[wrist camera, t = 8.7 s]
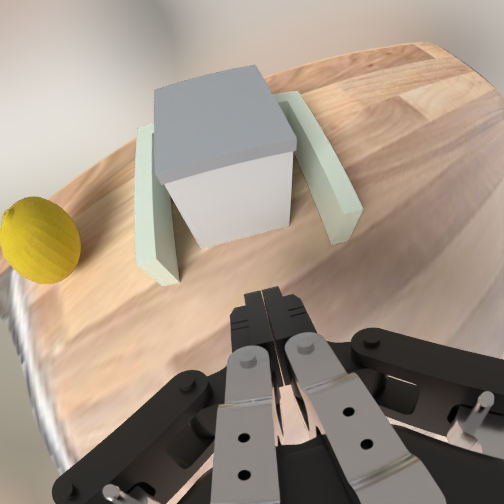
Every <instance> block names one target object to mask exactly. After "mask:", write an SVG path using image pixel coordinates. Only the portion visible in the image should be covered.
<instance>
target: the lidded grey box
mask: <svg viewBox="0 0 504 504" xmlns="http://www.w3.org/2000/svg"><path fill="white" fill-rule="evenodd" d="M296 145H297V138H296V136H295V134H294V132H293V130H292V128H291V126H290V124H289V122H288V121H287V119H286V117H285V115H284V113H283V111H282V110H281V108H280V106H279V104H278V102H277V101H276V99H275V97H274V95H273V94H272V92H271V90H270V89H269V87H268V85H267V83H266V82H265V80H264V78H263V77H262V75H261V73H260V72H259V70H258V69H257V67H256V65H251V66H245V67H240V68H235V69H230V70H225V71H221V72H216V73H213V74H208V75H204V76H200V77H196V78H192V79H189V80H185V81H182V82H178V83H175V84H171V85H168V86H166V87H162V88H159V89H156V90H155V91H154V156H155V175H156V176H157V178H158V180H159V182H160V184H161V185H163V184H164V185H165V187H166V189H167V190H168V192H169V194H170V196H171V197H172V199H173V201H174V203H175V205H176V206H177V208H178V210H179V212H180V213H181V215H182V217H183V219H184V220H185V222H186V224H187V226H188V227H189V229H190V231H191V233H192V234H193V236H194V238H195V239H196V241H197V243H198V245H199V246H200V248H201V249H203V248H207V247H211V246H215V245H219V244H222V243H226V242H230V241H234V240H238V239H241V238H245V237H249V236H253V235H257V234H261V233H265V232H269V231H273V230H276V229H280V228H284V227H288V226H289V222H290V206H291V188H292V169H293V151H296Z"/></svg>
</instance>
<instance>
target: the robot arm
mask: <svg viewBox="0 0 504 504" xmlns="http://www.w3.org/2000/svg"><path fill="white" fill-rule="evenodd" d="M262 293H263V298H264V302H265V306H264V302H263V298H262V295H261V291H256V292H251V293H247V294H244V298H245V304H246V306H241V307H237V308H234V310H233V311H232V313H231V315H230V323H231V341H232V354H231V355H230V356H229V358H228V361H227V366H226V367H225V368H224V369H222V370H220V371H219V372H217V373H214V374H212V375H209V376H207V377H206V375H205V374H204V373H202V372H200V371H197V370H188V371H184V372H181V373H179V374H178V375H176V376H175V377H173V378H172V379H171V380H170V381H169V382H168V383H167V384H166V385H165V386H164V387H163V388H161V389H160V390H159V391H158V392H157V393H156V394H155V395H154V396H153V397H152V398H151V399H149V400H148V401H147V402H146V403H145V404H144V405H143V406H142V407H141V408H140V409H138V410H137V411H136V412H135V413H134V414H133V415H132V416H131V417H129V418H128V419H127V420H126V421H125V422H124V423H123V424H122V425H120V426H119V427H118V428H117V429H116V430H115V431H114V432H112V433H111V434H110V435H109V436H108V437H107V438H105V439H104V440H103V441H102V442H101V443H100V444H98V445H97V446H96V447H95V448H94V449H93V450H91V451H90V452H89V453H88V454H87V455H86V456H84V457H83V458H82V459H81V460H80V461H78V462H77V463H76V464H75V465H73V466H72V467H71V468H70V469H69V470H67V471H66V472H65V473H64V474H62V475H61V476H60V477H59V478H58V479H57V480H56V481H55V483H54V485H53V488H52V496H53V500H54V502H55V503H56V504H166V503H167V502H168V501H169V500H170V499H171V498H172V497H173V496H174V495H175V494H176V493H177V492H178V491H179V490H180V489H181V488H182V487H183V486H184V485H185V484H186V483H187V481H188V480H189V479H190V478H191V477H192V476H193V475H194V474H195V473H196V472H197V471H198V470H199V468H200V467H201V466H202V465H203V464H204V463H205V462H206V461H207V459H208V458H209V457H210V456H211V455H212V454H213V453H214V459H213V468H211V469H210V470H208V471H207V472H206V473H204V474H203V475H202V476H201V477H200V478H199V479H198V480H197V481H196V482H195V484H194V485H193V486H192V487H191V488H190V489H189V491H188V492H187V493H186V494H185V495H184V496H183V497H182V498H181V500H180V501H179V502H178V503H177V504H504V360H503V359H499V358H494V357H490V356H485V355H481V354H477V353H472V352H468V351H464V350H460V349H456V348H452V347H448V346H444V345H440V344H436V343H432V342H428V341H424V340H420V339H417V338H413V337H409V336H405V335H402V334H398V333H394V332H391V331H387V330H384V329H380V328H366V329H363V330H360V331H358V332H357V333H356V334H355V335H354V336H353V337H352V340H351V342H343V343H334V342H329V341H326V340H325V338H324V337H323V336H322V335H320V334H317V332H316V329H315V327H314V325H313V323H312V321H311V319H310V317H309V315H308V313H307V311H306V309H305V307H304V305H303V303H302V301H301V299H300V298H298V297H297V296H295V295H293V294H292V295H288V296H283V297H282V294H281V292H280V289H279V287H278V286H277V287H273V288H268V289H264V290H262ZM265 307H266V310H265ZM266 311H267V314H266ZM267 316H268V318H267ZM268 320H269V321H268ZM274 344H275V345H274ZM275 348H276V349H275ZM276 352H277V354H276ZM277 356H278V358H277ZM278 359H279V363H280V367H281V371H282V375H283V378H284V382H285V386H286V385H290V384H291V386H292V390H293V394H294V399H295V402H296V405H297V407H298V410H299V413H300V415H301V418H302V420H303V423H304V425H305V428H306V430H307V433H308V435H309V438H310V440H309V441H307V442H305V443H303V444H298V445H286V442H285V434H284V426H283V418H282V410H281V403H280V398H281V396H280V391H279V387H282V386H283V381H282V376H281V372H280V367H279V363H278ZM388 375H390V376H393V377H396V378H399V379H402V380H405V381H408V382H411V383H414V384H416V385H417V386H416V385H413V384H409V383H406V382H403V381H400V380H397V379H394V378H391V377H388ZM385 416H387V417H389V418H392V419H395V420H397V421H400V422H403V423H406V424H409V425H411V426H414V427H417V428H420V429H423V430H426V431H429V432H432V433H436V434H439V435H442V436H446V437H447V440H448V442H449V443H446V442H443V441H440V440H438V439H435V438H432V437H429V436H427V435H424V434H421V433H418V432H416V431H413V430H411V429H408V428H405V427H402V426H398V425H393V424H390V423H389V421H388V420H387V418H386V417H385Z"/></svg>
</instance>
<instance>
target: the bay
mask: <svg viewBox="0 0 504 504" xmlns="http://www.w3.org/2000/svg"><path fill="white" fill-rule="evenodd" d="M273 95H274V97H275V99H276V101H277V102H278V104H279V106H280V108H281V110H282V111H283V113H284V115H285V117H286V119H287V121H288V122H289V124H290V126H291V128H292V130H293V132H294V134H295V136H296V138H297V145H296V151H293V152H294V154H295V157H296V159H297V161H298V163H299V166H300V168H301V170H302V173H303V175H304V177H305V180H306V182H307V184H308V187H309V189H310V192H311V194H312V197H313V199H314V201H315V204H316V206H317V209H318V211H319V214H320V217H321V219H322V222H323V224H324V227H325V230H326V232H327V235H328V237H329V240H330V243H331V246H332V245H336V244H340V243H344V242H347V241H349V239H350V236H351V234H352V232H353V230H354V228H355V226H356V224H357V222H358V220H359V218H360V216H361V214H362V211H363V207H362V205H361V203H360V201H359V199H358V196H357V194H356V192H355V190H354V188H353V186H352V184H351V182H350V180H349V178H348V176H347V174H346V172H345V170H344V169H343V167H342V165H341V163H340V161H339V159H338V157H337V155H336V154H335V152H334V150H333V148H332V146H331V144H330V143H329V141H328V139H327V137H326V136H325V134H324V132H323V130H322V129H321V127H320V125H319V124H318V122H317V120H316V119H315V117H314V115H313V114H312V112H311V111H310V109H309V107H308V106H307V104H306V103H305V101H304V99H303V98H302V96H301V95H300V93H299V92H298V91H290V92H283V93H276V94H273ZM134 226H135V255H136V265H137V266H138V267H140V268H141V269H142V270H143V271H144V272H146V273H147V274H148V275H149V276H151V277H152V278H153V279H154V280H155V281H157V282H158V283H159V284H160V285H162V286H168V285H172V284H176V283H180V279H179V272H178V264H177V256H176V248H175V239H174V230H173V220H172V209H171V198H170V194H169V192H168V190H167V189H166V187H165V185H164V184H163V185H161V184H160V182H159V180H158V178H157V176H156V175H155V156H154V123H152V124H149V125H146V126H143V127H140V128H138V131H137V143H136V160H135V189H134Z"/></svg>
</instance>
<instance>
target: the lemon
mask: <svg viewBox="0 0 504 504" xmlns="http://www.w3.org/2000/svg"><path fill="white" fill-rule="evenodd" d="M0 244H1V248H2V252H3V254H4V256H5V258H6V259H7V261H8V262H9V263H10V265H11V266H12V267H13V268H14V269H15V270H16V271H17V272H18V273H19V274H21V275H22V276H24V277H25V278H27V279H29V280H31V281H33V282H36V283H40V284H54V283H57V282H59V281H62V280H63V279H65V278H66V277H68V276H69V275H70V274H71V273H72V271H73V270H74V269H75V267H76V265H77V263H78V261H79V257H80V253H81V241H80V235H79V232H78V229H77V227H76V225H75V223H74V221H73V220H72V219H71V217H70V216H69V215H68V214H67V213H66V212H65V211H64V210H63V209H62V208H61V207H59V206H58V205H57V204H55V203H53V202H51V201H49V200H46V199H43V198H40V197H27V198H24V199H22V200H19V201H17V202H16V203H15V204H13V205H12V206H11V207H10V209H8V210H6V211H5V212H4V214H3V216H2V223H1V228H0Z"/></svg>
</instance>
